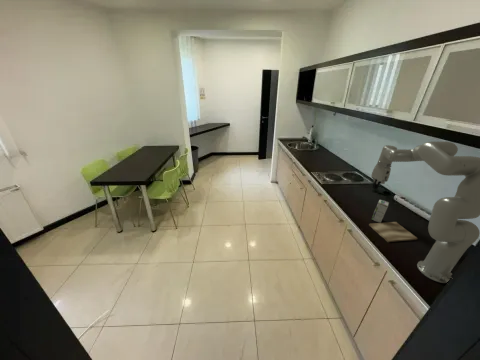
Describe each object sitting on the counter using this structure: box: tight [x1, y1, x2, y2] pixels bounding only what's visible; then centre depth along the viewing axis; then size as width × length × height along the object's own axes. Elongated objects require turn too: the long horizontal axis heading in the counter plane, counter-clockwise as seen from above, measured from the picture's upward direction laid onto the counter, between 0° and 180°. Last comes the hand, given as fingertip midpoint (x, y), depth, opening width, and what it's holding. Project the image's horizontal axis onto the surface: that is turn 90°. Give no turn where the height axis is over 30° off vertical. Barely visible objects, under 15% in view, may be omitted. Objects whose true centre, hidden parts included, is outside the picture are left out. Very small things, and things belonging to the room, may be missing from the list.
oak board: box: [368, 221, 418, 243], centre depth 127 cm, size 16×20×1 cm
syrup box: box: [371, 199, 390, 223], centre depth 135 cm, size 6×6×14 cm
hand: (374, 188), depth 139 cm, fingers closed
